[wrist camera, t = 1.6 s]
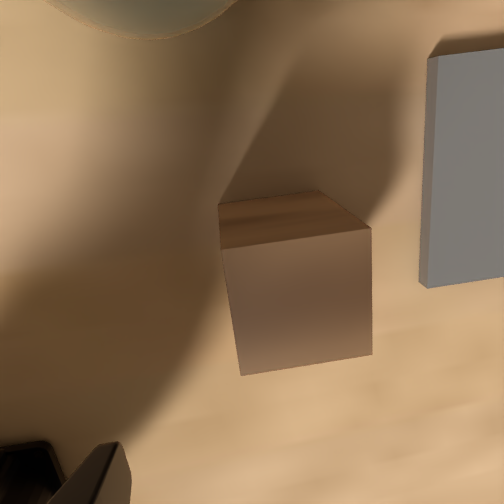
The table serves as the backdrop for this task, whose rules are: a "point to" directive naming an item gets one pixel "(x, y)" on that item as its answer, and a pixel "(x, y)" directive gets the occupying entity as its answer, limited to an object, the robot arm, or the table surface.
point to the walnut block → (296, 281)
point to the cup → (143, 15)
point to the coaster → (463, 170)
